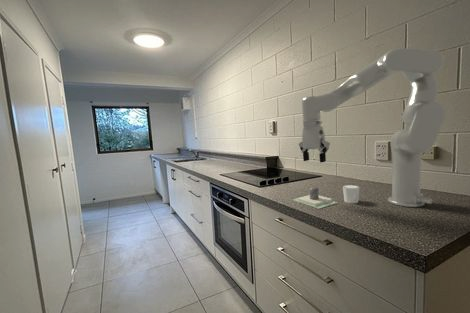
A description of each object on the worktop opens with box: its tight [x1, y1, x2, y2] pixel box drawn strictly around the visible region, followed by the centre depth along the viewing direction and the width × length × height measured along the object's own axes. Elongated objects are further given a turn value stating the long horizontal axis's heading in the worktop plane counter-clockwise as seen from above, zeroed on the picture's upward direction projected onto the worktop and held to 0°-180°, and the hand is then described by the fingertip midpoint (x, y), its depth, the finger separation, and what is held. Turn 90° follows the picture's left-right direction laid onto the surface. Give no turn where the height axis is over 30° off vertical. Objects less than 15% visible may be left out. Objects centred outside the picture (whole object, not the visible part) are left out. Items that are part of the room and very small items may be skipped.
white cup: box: [342, 184, 360, 204], centre depth 101 cm, size 7×7×7 cm
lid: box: [296, 186, 333, 206], centre depth 104 cm, size 11×11×6 cm
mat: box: [292, 198, 338, 210], centre depth 105 cm, size 16×12×1 cm
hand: (314, 161), depth 102 cm, fingers open, 9 cm apart
